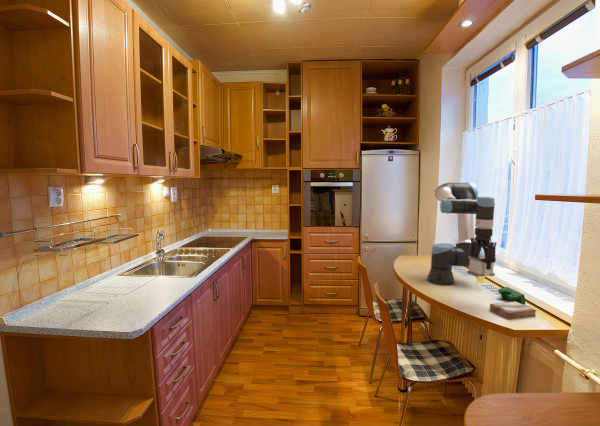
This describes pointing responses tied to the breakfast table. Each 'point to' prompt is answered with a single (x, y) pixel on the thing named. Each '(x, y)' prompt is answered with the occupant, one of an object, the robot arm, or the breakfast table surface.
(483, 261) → the block
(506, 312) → the stand
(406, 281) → the breakfast table surface
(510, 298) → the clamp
